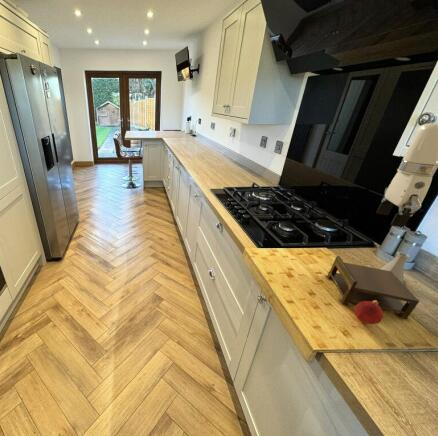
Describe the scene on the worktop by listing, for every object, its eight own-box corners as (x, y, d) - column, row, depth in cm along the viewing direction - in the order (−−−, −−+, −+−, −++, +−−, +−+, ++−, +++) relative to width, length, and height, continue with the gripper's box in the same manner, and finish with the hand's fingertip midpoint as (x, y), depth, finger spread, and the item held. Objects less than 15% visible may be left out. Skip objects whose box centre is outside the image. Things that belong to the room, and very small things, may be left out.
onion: (371, 334, 63) (386, 313, 60) (346, 319, 67) (358, 298, 64) (379, 324, 66) (393, 303, 63) (354, 311, 70) (366, 290, 67)
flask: (397, 274, 87) (411, 252, 83) (407, 286, 81) (423, 263, 77) (373, 268, 90) (385, 246, 85) (380, 280, 84) (394, 257, 79)
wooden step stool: (381, 287, 80) (394, 266, 76) (406, 319, 68) (423, 295, 64) (327, 276, 85) (336, 255, 81) (342, 304, 73) (354, 281, 69)
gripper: (455, 177, 61) (419, 234, 69) (415, 164, 76) (389, 212, 83) (418, 173, 64) (387, 229, 71) (386, 161, 78) (364, 208, 86)
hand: (389, 219), depth 77 cm, fingers open, 9 cm apart
